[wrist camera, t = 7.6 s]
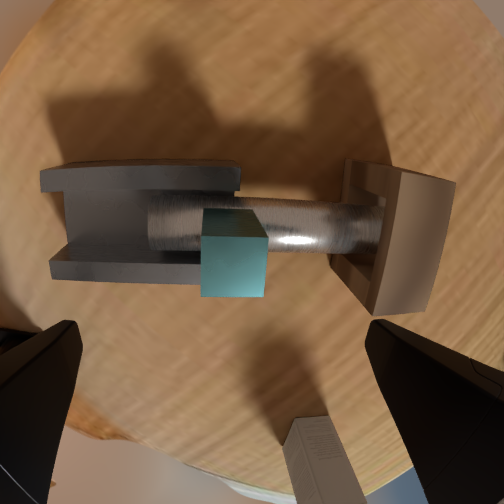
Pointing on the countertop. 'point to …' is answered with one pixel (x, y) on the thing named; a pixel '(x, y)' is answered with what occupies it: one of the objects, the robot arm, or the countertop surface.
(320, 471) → the skincare box
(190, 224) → the rod
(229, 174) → the channel
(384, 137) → the countertop surface
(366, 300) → the socket block
